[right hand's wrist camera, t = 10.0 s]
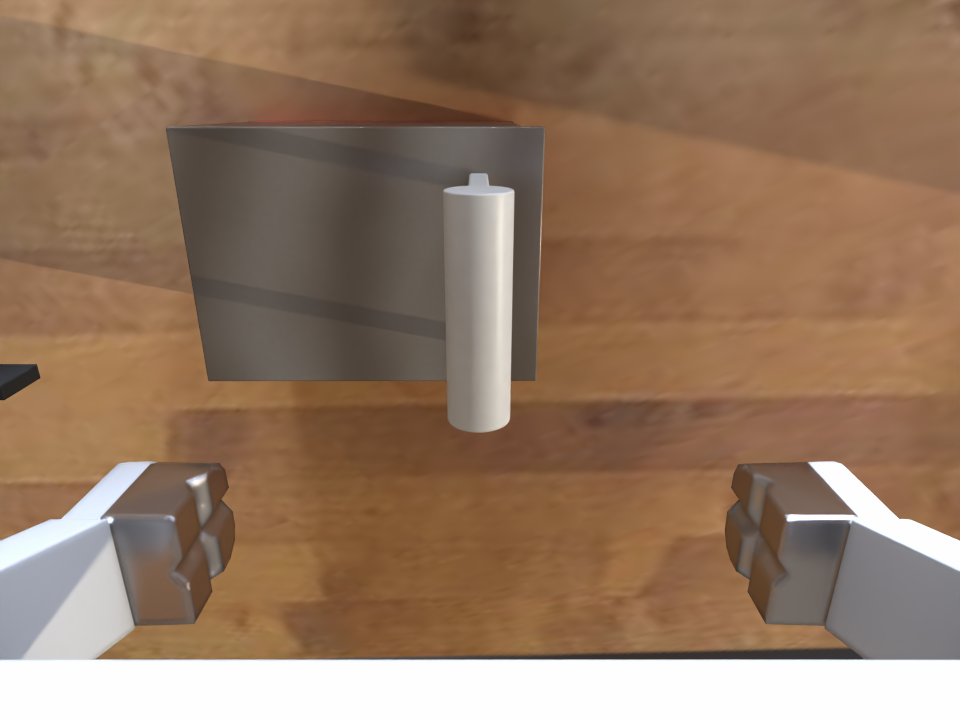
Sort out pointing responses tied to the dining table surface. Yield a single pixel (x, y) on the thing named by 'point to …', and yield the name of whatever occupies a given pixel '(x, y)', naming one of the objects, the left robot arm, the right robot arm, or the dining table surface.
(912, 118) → the dining table surface
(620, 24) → the dining table surface
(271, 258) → the lid
